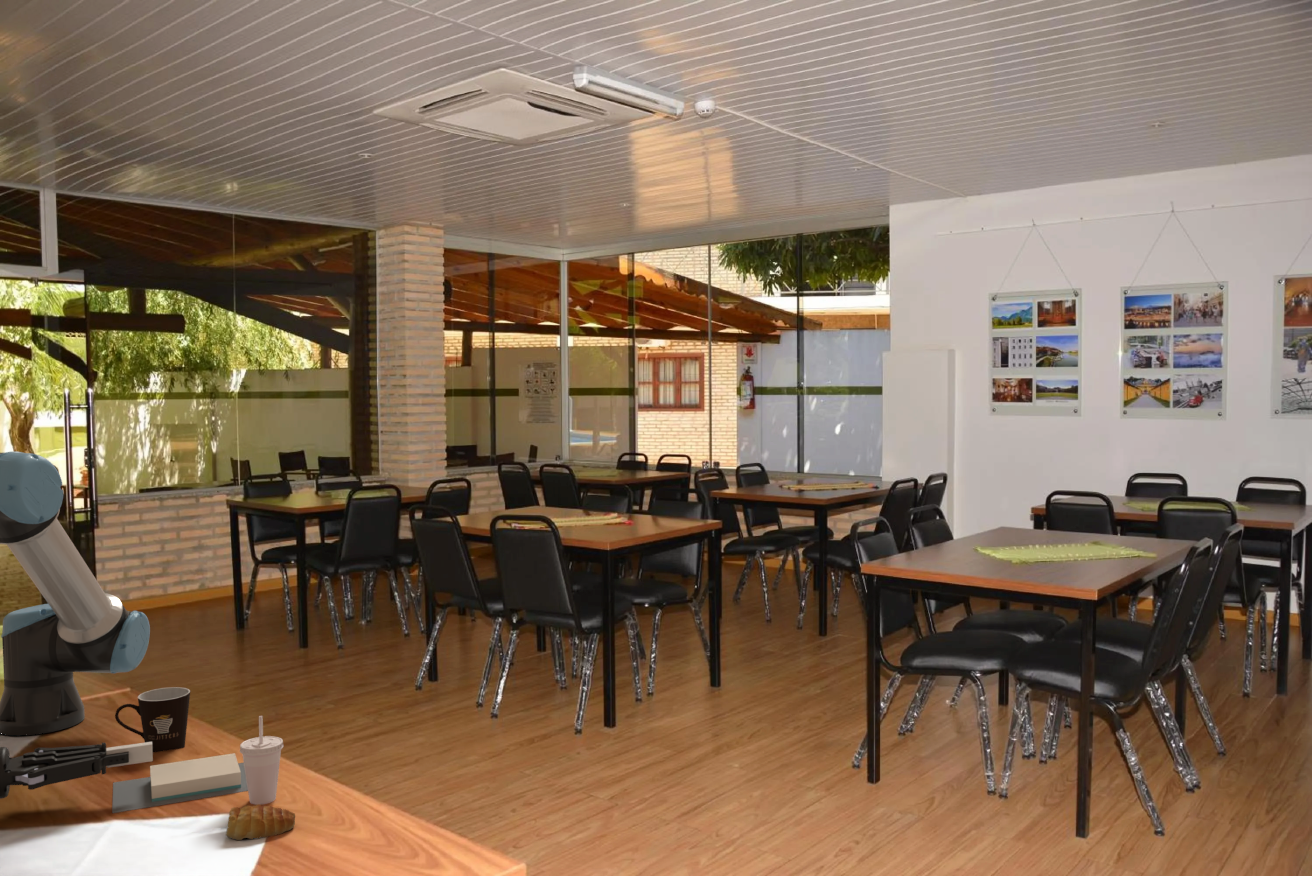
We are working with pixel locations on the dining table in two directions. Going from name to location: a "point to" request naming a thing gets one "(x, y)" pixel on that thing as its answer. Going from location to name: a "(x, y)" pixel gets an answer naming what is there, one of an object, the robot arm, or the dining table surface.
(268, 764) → the smoothie
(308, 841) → the dining table surface
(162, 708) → the coffee mug
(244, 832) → the pastry
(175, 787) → the tile
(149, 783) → the mat
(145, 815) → the dining table surface
